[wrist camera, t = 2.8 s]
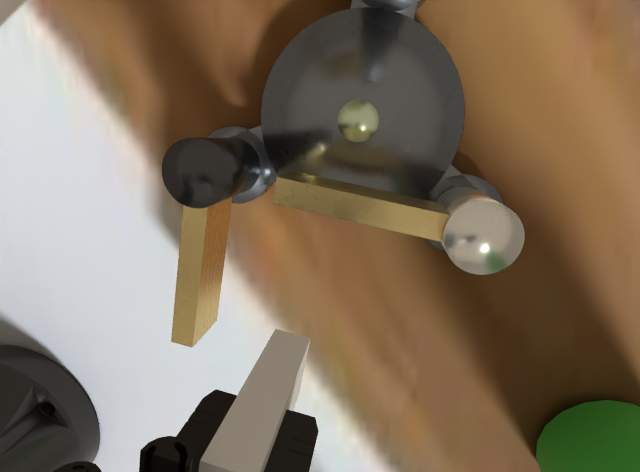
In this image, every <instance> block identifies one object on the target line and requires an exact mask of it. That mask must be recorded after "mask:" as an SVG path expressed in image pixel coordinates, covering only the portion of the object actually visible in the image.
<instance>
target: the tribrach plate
mask: <svg viewBox="0 0 640 472" xmlns="http://www.w3.org/2000/svg"><path fill="white" fill-rule="evenodd" d="M424 1H425V0H352V3H351V8H350V9H346V10H341V11H338V12H335V13H332V14H329V15H326V16H324V17H323V18H321V19H319V20H317V21H315V22H313V23H312V24H310V25H309V26H307V27H306V28H305V29H303V30H302V31H301V32H300V33H299V34H297V35H296V36H295V37H294V38H293V39H292V40H291V41H290V42H289V44H288V45H287V46H286V47H285V48H284V50H283V51H282V52H281V54H280V55H279V57H278V59H277V60H276V62H275V63H274V65H273V68H272V70H271V72H270V74H269V76H268V79H267V82H266V85H265V88H264V93H263V98H262V105H261V125H260V126H258V127H255V128H252V129H251V128H248V127H239V126H228V127H223V128H220V129H218V130H216V131H214V132H213V133H211V134H210V135H209V136H208V137H207V138H239V139H242V140H245V141H246V142H248V143H249V144H250V145H251V146H252V147H253V148H254V149H255V150H256V152H257V154H258V156H259V159H260V164H261V170H260V176H259V178H258V180H257V182H256V183H255V185H254V186H253V187H252V188H250V189H249V190H247V191H245V192H243V193H240V194H238V195H235V196H233V197H232V203H245V202H248V201H251V200H253V199H255V198H257V197H259V196H261V195H263V194H264V193H265V192H266V191H267V190H268V189H269V188H270V187H271V185H272V184H273V182H275V181H276V179H277V177H278V176H281V175H283V174H286V173H288V172H290V171H296V172H300V173H305V174H310V175H314V176H319V177H323V178H328V179H333V180H337V181H342V182H346V183H351V184H356V185H360V186H365V187H369V188H374V189H378V190H383V191H388V192H392V193H397V194H401V195H406V196H411V197H415V198H420V199H424V200H429V201H434V202H435V201H436V200H437V199H438V197H439V196H440V195H442V194H443V193H444V192H446V191H447V190H449V189H452V188H455V187H471V188H474V189H477V190H478V191H480V192H482V193H484V194H485V195H487V196H489V197H490V198H492V199H494V200H496V201H497V202H499V203H501V204H503V201H502V198H501V196H500V194H499V193H498V191H497V190H496V189H495V188H494V187H493V185H491V184H490V183H489V182H487V181H486V180H484V179H482V178H479V177H477V176H475V175H472V174H469V173H460V172H459V171H458V170H457V169H456V168H455V167H454V166H453V165H452V164H451V162H452V161H453V159H454V157H455V155H456V152H457V149H458V146H459V144H460V140H461V136H462V131H463V126H464V116H465V107H464V95H463V89H462V83H461V80H460V77H459V74H458V71H457V69H456V66H455V64H454V62H453V60H452V58H451V56H450V55H449V53H448V52H447V50H446V49H445V47H444V46H443V44H442V43H441V42H440V41H439V40H438V39H437V38H436V37H435V36H434V34H432V33H431V32H430V31H429V30H428V29H426V28H425V27H424V26H423V25H421V24H420V23H418V22H416V21H415V20H414V16H415V12H416V9H417V8H419V7H420V6H421V5H422V4H423V3H424ZM426 239H427V238H426ZM427 240H428V241H429V242H430V243H431V244H432V245H433V246H435V247H436V248H438V249H439V250H442V251H444V252H446V250H445V248H444V247H443V245H442V243H441V242H440V241H436V240H431V239H427Z"/></svg>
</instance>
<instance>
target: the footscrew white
mask: <svg viewBox="0 0 640 472" xmlns="http://www.w3.org/2000/svg"><path fill="white" fill-rule="evenodd" d="M273 204H278V205H282V206H287V207H291V208H295V209H300V210H304V211H308V212H313V213H317V214H322V215H326V216H330V217H335V218H339V219H344V220H348V221H352V222H357V223H361V224H366V225H370V226H374V227H379V228H383V229H387V230H392V231H396V232H401V233H405V234H409V235H414V236H418V237H423V238H427V239H431V240H436V241H440V242H441V243H442V245H443V247H444V248H445V250H446V252H447V254H448V256H449V258H450V259H451V260H452V262H453V263H454V264H455V265H456V266H458V267H459V268H460V269H462V270H464V271H466V272H469V273H472V274H477V275H487V274H493V273H496V272H499V271H501V270H503V269H505V268H507V267H508V266H509V265H511V264H512V263H513V262H514V261H515V260H516V258H517V257H518V256H519V254H520V253H521V250H522V248H523V245H524V239H525V233H524V228H523V224H522V222H521V220H520V219H519V217H518V216H517V215H516V214H515V213H514V212H513V211H512V210H511V209H509V208H508V207H506V206H504V205H503V204H501V203H499V202H497V201H496V200H494V199H492V198H490V197H489V196H487V195H485V194H484V193H482V192H480V191H478V190H477V189H474V188H471V187H455V188H452V189H449V190H447V191H446V192H444V193H443V194H442V195H440V196H439V197H438V199H437V200H436V201H435V202H434V201H429V200H424V199H420V198H415V197H411V196H406V195H401V194H397V193H392V192H388V191H383V190H378V189H374V188H369V187H365V186H360V185H356V184H351V183H346V182H342V181H337V180H333V179H328V178H323V177H319V176H314V175H310V174H305V173H300V172H296V171H290V172H288V173H286V174H283V175H281V176H278V177H277V179H276V185H275V191H274V198H273Z"/></svg>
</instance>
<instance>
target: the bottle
mask: <svg viewBox="0 0 640 472" xmlns="http://www.w3.org/2000/svg"><path fill="white" fill-rule="evenodd" d="M536 460H537V462H538V465H539V467H540V469H541V472H640V407H639V406H637V405H635V404H632V403H626V402H619V401H613V400H602V401H593V402H585V403H581V404H579V405H576V406H574V407H572V408H569V409H567V410H564V411H562V412H561V413H559V414H558V415H557V416H556V417H555V418H554V419H552V420H551V421H550V422H549V423H548V424H547V425H545V427H544V429H543V431H542V433H541V435H540V437H539V439H538V441H537V450H536Z"/></svg>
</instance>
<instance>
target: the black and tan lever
mask: <svg viewBox="0 0 640 472" xmlns="http://www.w3.org/2000/svg"><path fill="white" fill-rule="evenodd" d="M260 170H261V164H260V159H259V156H258V154H257V152H256V150H255V149H254V148H253V147H252V146H251V145H250V144H249V143H248V142H246V141H245V140H242V139H239V138H188V139H183V140H180V141H178V142H176V143H175V144H173V145H172V146H171V147H170V148H169V150H168V151H167V153H166V154H165V157H164V159H163V164H162V176H163V180H164V183H165V186H166V188H167V190H168V191H169V193H170V194H171V195H172V196H173V197H174V198H175V199H176V200H177V201H178V202H179V203H181V204H183V215H182V226H181V237H180V249H179V260H178V271H177V282H176V293H175V305H174V316H173V327H172V338H171V342H174V343H178V344H182V345H185V346H189V347H193V346H194V345H195V344H196V343H197V342H198V341H199V340H200V339H201V337H202V336H203V335H204V334H205V333H206V332H207V331H208V330H209V328H210V327H211V326H212V325H213V324H214V323H215V322H216V321H217V314H218V307H219V299H220V291H221V283H222V275H223V267H224V259H225V252H226V244H227V236H228V228H229V220H230V212H231V205H232V197H233V196H235V195H238V194H240V193H243V192H245V191H247V190H249V189H250V188H252V187H253V186H254V185H255V183H256V182H257V180H258V178H259V176H260Z"/></svg>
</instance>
